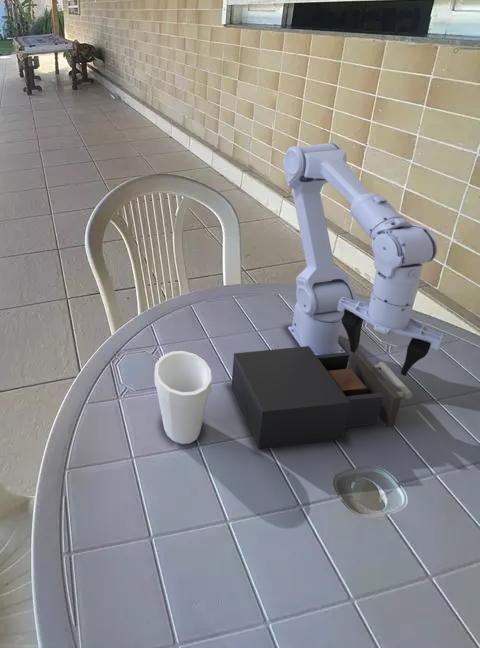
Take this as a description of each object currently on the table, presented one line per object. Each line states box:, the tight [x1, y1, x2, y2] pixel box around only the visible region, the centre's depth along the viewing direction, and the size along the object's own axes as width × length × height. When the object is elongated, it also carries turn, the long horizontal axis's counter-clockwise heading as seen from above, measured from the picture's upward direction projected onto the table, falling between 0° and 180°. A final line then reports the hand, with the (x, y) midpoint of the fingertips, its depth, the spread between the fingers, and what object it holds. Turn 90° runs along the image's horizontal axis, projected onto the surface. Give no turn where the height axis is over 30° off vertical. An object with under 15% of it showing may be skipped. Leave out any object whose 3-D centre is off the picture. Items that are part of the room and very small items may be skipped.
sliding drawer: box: [316, 347, 414, 429], centre depth 76 cm, size 18×11×7 cm, turn 94°
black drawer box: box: [230, 346, 350, 449], centre depth 76 cm, size 15×13×9 cm
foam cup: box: [154, 350, 212, 445], centre depth 73 cm, size 10×9×13 cm
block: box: [328, 369, 367, 396], centre depth 76 cm, size 4×4×4 cm
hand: (378, 360), depth 74 cm, fingers open, 7 cm apart
